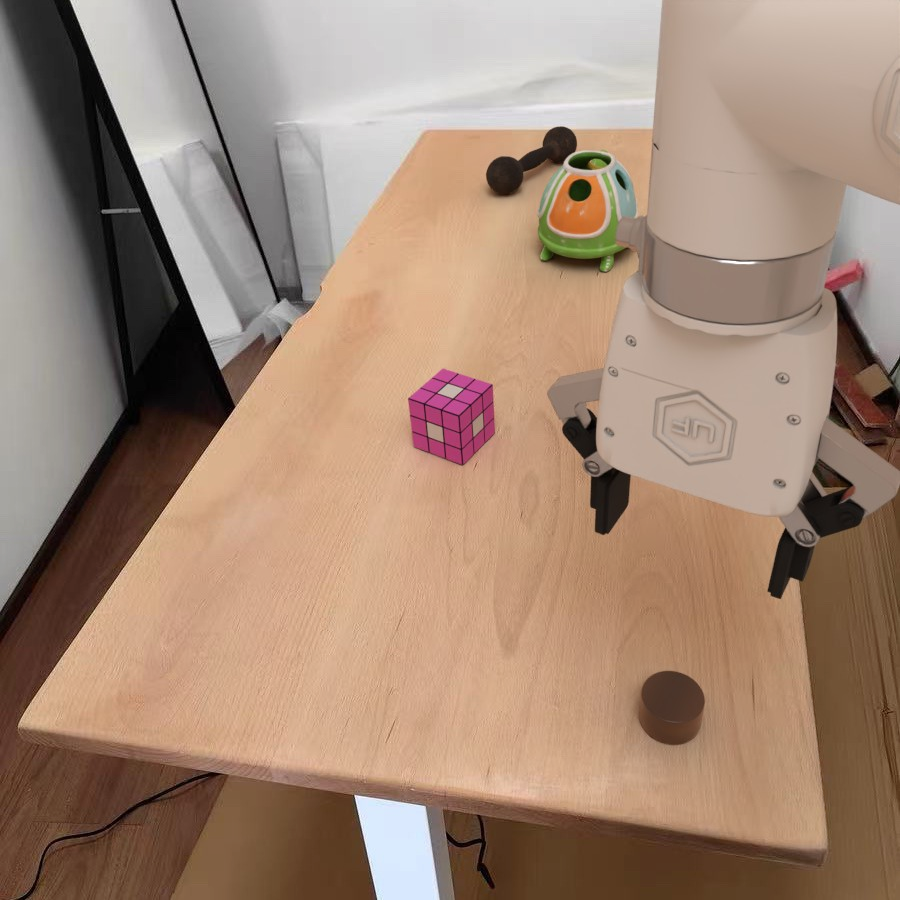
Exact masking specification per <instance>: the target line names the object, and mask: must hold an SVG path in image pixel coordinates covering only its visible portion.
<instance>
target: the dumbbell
mask: <svg viewBox="0 0 900 900" xmlns="http://www.w3.org/2000/svg"><path fill="white" fill-rule="evenodd" d="M577 148H578V141H577V136H576V134H575V133H574V131H573V130H572V129H571V128H568V127H567V126H561V125H560V126H555V127H552V128H550V129H549V130H548V131H547V132H546V133H545V135H544V137H543V141H542V147H538V148H536V149H533V150H531V151H528V152H527V153H526V154H524V155H523V156H522V157H521V158H520V159H517V158H514V156H513V157H512V156H508V155H507V156H506V155H505V156H504V155H501V156H498V157H496V158H494V159H493V160H492V161H490V163H489V164H488V165H487V166H488V167H487V168H486V172H485V179H486V182H487V183H486V184H487V185H488V187H489V188H490V189H491V190H492V191H493V192H494V193H496V194H499V195H509V194H512V193H514V192H516V191H517V190H518V189H519V188H520V187H521V186H522V183H523V181H524V176H525V175H524V174H525V173H526V172H529V171H531V170H534V169H536V168H538V167H539V166H541V165H542V164H544V163H545V162H546V161H547V160H549V161H550V162H553V163H557V164H558V163H564V161H565V160H566V158H567V157H568V156H569V155H571V154H572V153H574V152H577Z"/></svg>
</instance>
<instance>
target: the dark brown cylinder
mask: <svg viewBox="0 0 900 900" xmlns="http://www.w3.org/2000/svg"><path fill="white" fill-rule="evenodd" d="M705 703H706V698H705V694H704V692H703V689H702V688H701V686H700V685H699V683H698V682H697V681H695V679H693V678H692V677H690V676H689V675H687V674H685V673H683V672H680V671H675V670H662V671H658V672H656V673H653V674H651V675H650V676H649V677H647V679H646V680H645V681H644V682H643V685H642V687H641V692H640V700H639V709H638V719H639V723H640V726H641V727H642V729H643V730H644V732H645V733H646V734H647V735H648V736H649V737H651V738H652V739H653V740H654V741H657V742H659V743H661V744H665V745H671V746H674V745H675V746H677V745H683V744H686V743H689V742H690V741H692V740H694V738H695V737H696V736H697V735H698V733H699V732H700V729H701V726H702V725H701V724H702V719H703V715H704V709H705Z"/></svg>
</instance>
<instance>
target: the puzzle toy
mask: <svg viewBox="0 0 900 900" xmlns="http://www.w3.org/2000/svg"><path fill="white" fill-rule="evenodd" d="M407 403H408V411H409V420H410V427H411V438H412V444H413V447H414V448H416V449H419V450H422V451H424V452H428V453H430V454H433V455H435V456H437V457H440V458H442V459H446V460H448V461H451V462H454V463H456V464H458V465H461V466H463V465H465V464H466V463H467V461H469V459H470V458H472V456H474V454H476V453H477V451H478V450H480V448H481V447H483V446H484V444H485V443H486V442H488V441H489V439H491V437H492V436H493V435H494V434H495V433H496V426H495V403H494V384H493V383H490V382H487V381H483V380H481V379H478V378H474V377H471V376H468V375H465V374H461V373H458V372H456V371H452V370H449V369H446V368H442V369H441V370H439V371H438V372H437V373H435V374H434V375H433V376H432V377H430V379H429V380H428V381H426V382H425V383H424V384H423V385H422V386H421V387H419V388H418V389H417V390H416V391H415V392H413V394H411V395H410V396H409V397H408V398H407Z"/></svg>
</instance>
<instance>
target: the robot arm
mask: <svg viewBox="0 0 900 900" xmlns="http://www.w3.org/2000/svg"><path fill="white" fill-rule="evenodd" d="M659 22H660V24H659V38H658V51H657V64H656V65H657V66H656V68H657V69H656V80H655V93H654V94H655V95H654V108H653V121H652V136H651V149H650V150H651V151H650V166H649V179H648V194H647V209H646V210H647V211H646V215H639V216H637V218H633V217H627V216H623V217H622V218H621V219H620V221H619V223H618V226H617V229H616V235H615V241H616V244H617V245H618V246H622V247H626V248H628V249H629V250H630V251H631V252H633V253H636V254H637V258H638V266H637V267H638V269H637V270H636V272H634V273H633V274H632V275H630V276H629V277H627V279H626V280H625V281H624V283H623V286H622V289H621V292H620V294H619V298H618V302H617V304H616V307H615V314H614V317H613V321H612V324H611V330H610V334H609V338H608V343H607V349H606V353H605V360H604V365H603V367H602V368H597V369H591V370H587V371H582V372H581V371H580V372H577V373H572V374H567V375H563V376H559V377H558V379H557V380H556V381H555V382H554V383H553V384H552V385H551V386H550V387H549V388H548V390H547V393H546V394H547V395H546V396H547V397H548V400H549V402H550V403H551V406H552V408H553V410H554V412H555V414H556V417H557V418H558V420H560V421H561V422H562V427H561V432H562V434H563V436H564V437H565V439H567V440H568V442H569V443H570V445H571V446H572V447H573V448H574V449H575V450H576V451H577V453H578V454H579V455H580V457H582V459H583V461H582V462H581V466H582V467H581V468H582V469H583V471H584V472H585V473H586V474H587V475H588V476H590V491H589V492H590V493H589V496H590V497H589V507H590V508H591V509H593V510H595V514H594V532H595V533H596V534H599V535H602V536H605V535H609V534H610V533H611V531H612V530H613V528H614V527H615V526H616V524H617V523H618V521H619V520H620V518H621V517H622V516H623V514H624V512H625V511H626V510H627V508H628V506H629V503H630V491H631V490H630V489H631V476H633V477H636V478H638V479H641V480H644V481H647V482H651V483H654V484H656V485H659V486H662V487H665V488H669V489H672V490H674V491H677V492H681V493H684V494H687V495H690V496H693V497H697V498H700V499H703V500H706V501H709V502H713V503H715V504H718V505H722V506H724V507H728V508H731V509H734V510H736V511H737V510H738V511H741V512H745V513H748V514H751V515H754V516H755V515H756V516H760V517H766V518H778V519H779V520H780V522H781V523H782V525H783V526H784V529H783V531H782V533H781V535H780V538H779V540H778V543H777V546H776V551H775V555H774V559H773V564H772V568H771V573H770V578H769V582H768V587H767V593H770V597H773V598H775V599H779V600H781V599H782V598H783V596H784V593H785V591H786V589H787V587H788V585H789V582H790V580H791V579H794V580H796V581H800V582H804V579H806V575H807V574H808V573H807V572H808V571H809V568H810V565H811V562H812V558H813V555H814V551H815V546H816V545H817V544H818V542H819V541H820V539H821V538H825V537H828V536H831V535H835V534H838V533H841V532H843V531H847V530H850V529H853V528H856V527H858V526H860V525H861V524H862V521H863V519H866V518H867V517H868V516H870V515H873V514H874V513H875V512H876V511H878V510H879V509H881V508H882V507H883V506H884V505H886V504H887V503H889V502H890V501H891V500H893V499H894V498H895V497H896V496H897V494H898V492H899V488H900V470H899V469H898V468H896V467H895V466H894V465H892V464H891V463H890V462H888V461H887V460H885V459H884V458H883V457H882V456H880V455H879V454H877V452H875V451H873V450H872V449H871V448H869V447H868V446H866V445H865V444H864V443H863V442H861V441H860V440H858V439H857V438H856V437H854V436H853V435H851V434H850V433H848V432H847V431H846V430H845V429H843V428H842V427H841V426H839V425H838V424H836V422H834V421H833V420H831V419H830V418H829V416H830V410H831V403H832V395H833V390H834V381H835V372H836V363H837V361H836V360H837V346H838V307H837V299H836V297H835V295H834V293H833V292H832V291H831V290H830V289H828V288H826V287H825V284H826V281H827V275H828V271H829V266H830V263H831V257H832V253H833V248H834V244H835V238H836V235H837V230H838V226H839V222H840V217H841V212H842V208H843V204H844V199H845V194H846V190H847V186H848V187H851V188H854V189H856V190H859V191H861V192H863V193H866V194H869V195H871V196H874V197H876V198H879V199H882V200H885V201H887V202H889V203H893V204H896V205H899V206H900V0H661V11H660V21H659ZM597 401H598V407H597V415H595V414H594V412H593V411H592V410H591V409H589V408H588V407H587V406H588V404H587V403H590V402H597ZM819 460H820V461H821V462H823V463H824V464H825V465H827V466H828V467H830V468H831V469H832V470H833V471H835V472H836V473H838V474H839V475H840V476H841V477H842V478H844V479H845V480H847V481H848V482H849V483H851V484H852V486H849V487H845V488H842V489H839V490H837V491H835V492H831V493H829V494H828V493H827V491H826V490H825V488H824V487H823V486H822V484H821V482H820V481H819V479H818V478H817V477H816V476H815V475H816V474H814V472H813V469H814V467H815V466H816V465H817V462H818V461H819Z"/></svg>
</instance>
